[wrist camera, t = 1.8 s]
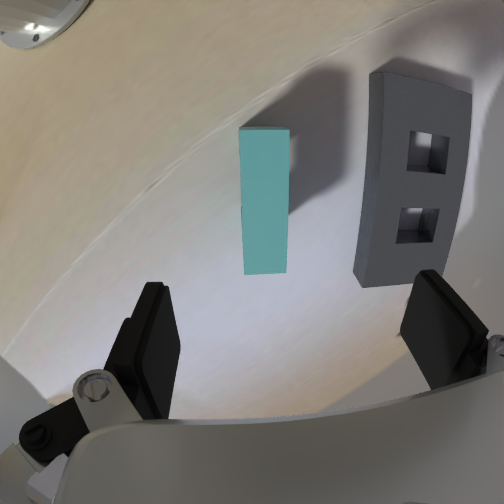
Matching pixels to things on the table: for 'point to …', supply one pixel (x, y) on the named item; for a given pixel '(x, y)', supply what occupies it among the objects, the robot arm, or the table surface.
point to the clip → (264, 198)
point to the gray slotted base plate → (410, 178)
